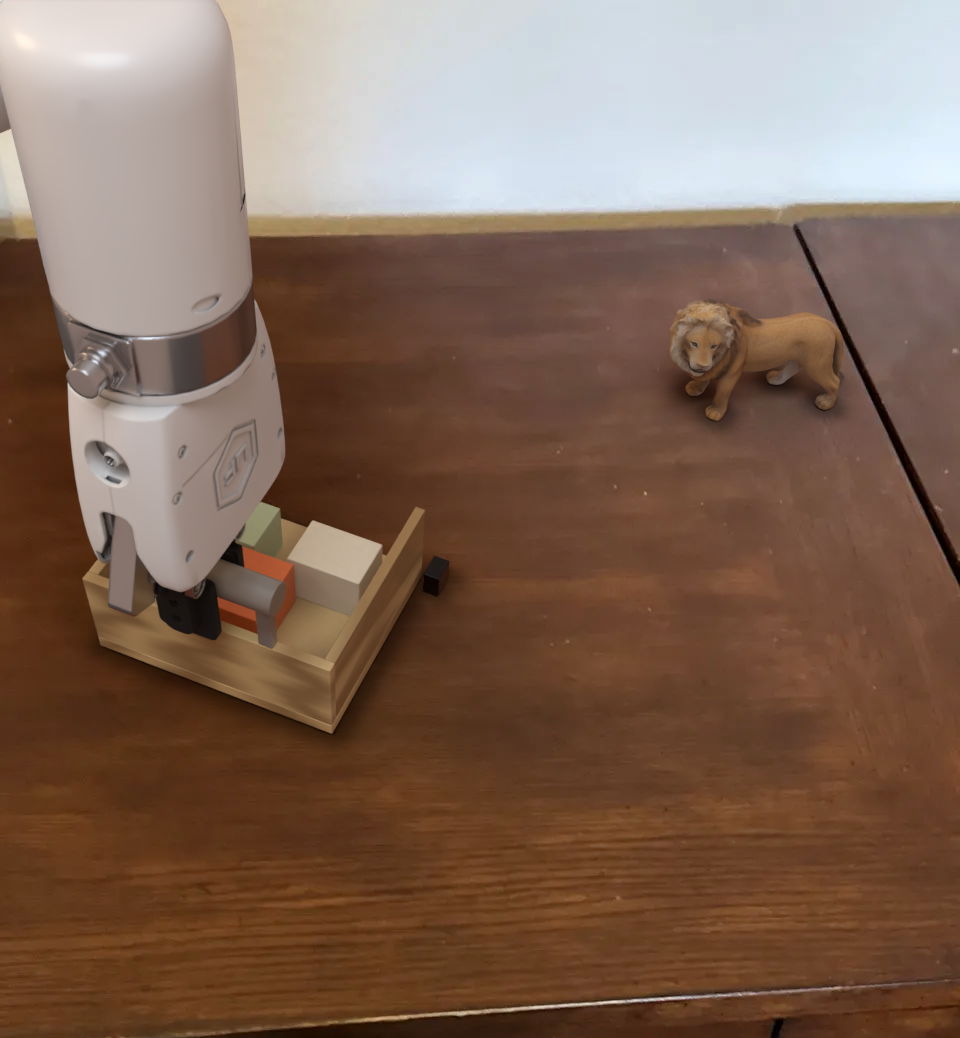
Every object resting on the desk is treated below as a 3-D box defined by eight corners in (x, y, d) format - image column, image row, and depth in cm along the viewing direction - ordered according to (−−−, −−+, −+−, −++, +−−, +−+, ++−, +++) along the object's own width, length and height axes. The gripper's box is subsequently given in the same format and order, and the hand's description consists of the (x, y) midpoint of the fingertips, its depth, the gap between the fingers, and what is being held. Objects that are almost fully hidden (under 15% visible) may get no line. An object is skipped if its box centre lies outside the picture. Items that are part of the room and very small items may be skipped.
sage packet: (189, 558, 73) (183, 520, 70) (216, 521, 75) (211, 483, 72) (257, 583, 72) (254, 546, 70) (283, 545, 74) (280, 508, 72)
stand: (182, 505, 77) (179, 487, 76) (195, 488, 78) (192, 470, 76) (437, 596, 74) (439, 579, 73) (448, 578, 75) (449, 560, 74)
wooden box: (94, 653, 69) (57, 523, 61) (208, 500, 77) (189, 366, 68) (327, 742, 67) (322, 620, 59) (421, 576, 74) (429, 447, 66)
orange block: (260, 657, 69) (256, 621, 66) (208, 637, 70) (202, 601, 67) (296, 600, 72) (293, 564, 69) (246, 582, 72) (241, 545, 70)
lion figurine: (669, 446, 83) (697, 338, 76) (636, 393, 86) (660, 285, 79) (858, 405, 87) (903, 299, 80) (821, 356, 90) (860, 250, 83)
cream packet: (289, 594, 72) (286, 558, 69) (313, 556, 74) (312, 519, 71) (359, 620, 71) (359, 584, 69) (382, 580, 73) (383, 544, 70)
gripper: (135, 475, 43) (192, 757, 58) (334, 232, 53) (339, 527, 67) (-51, 410, 45) (51, 701, 59) (175, 183, 54) (215, 483, 69)
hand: (204, 607), depth 63 cm, fingers closed on wooden box, 2 cm apart
